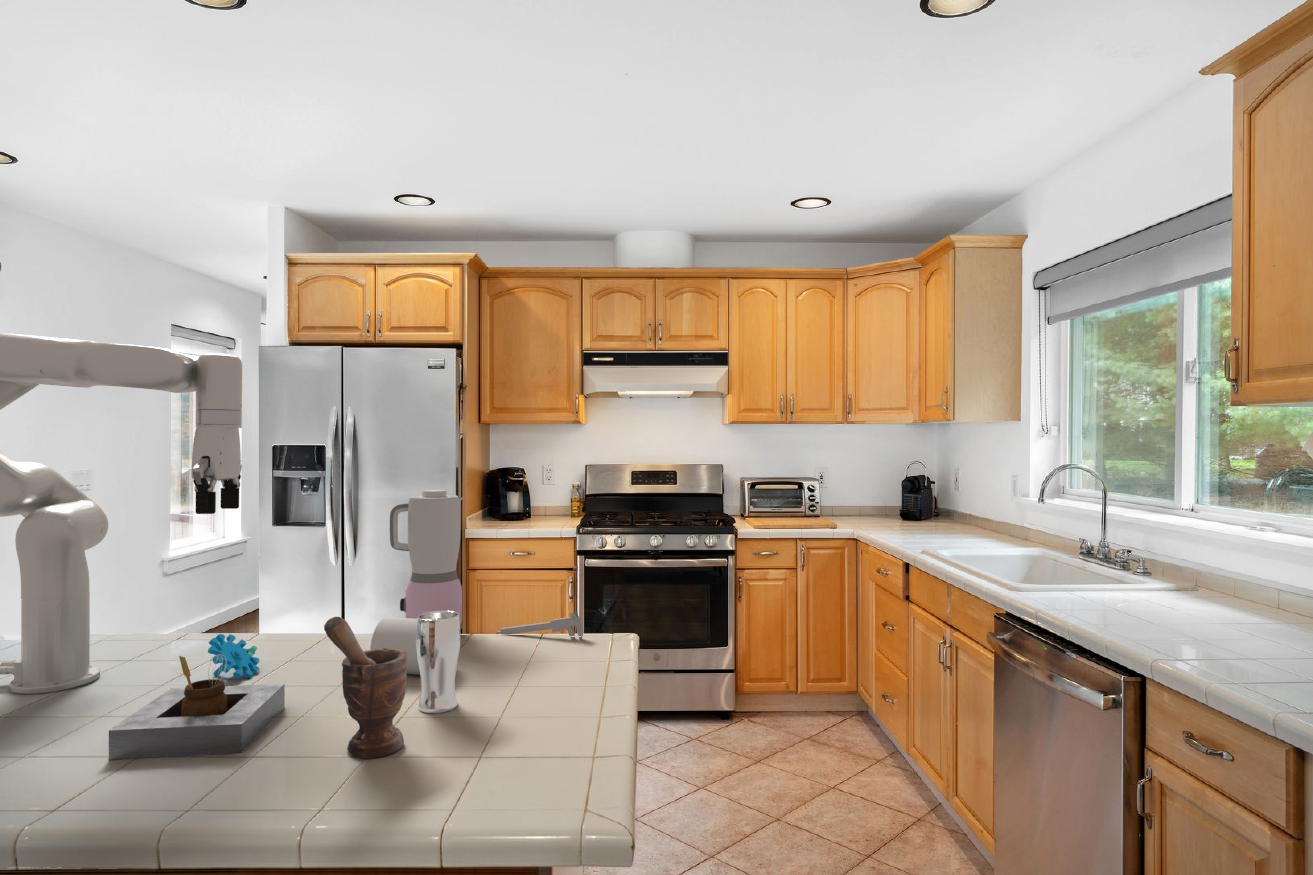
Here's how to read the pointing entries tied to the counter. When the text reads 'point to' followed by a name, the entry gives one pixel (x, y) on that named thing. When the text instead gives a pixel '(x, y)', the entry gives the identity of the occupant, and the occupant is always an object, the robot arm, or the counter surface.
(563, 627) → the caliper
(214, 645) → the gear
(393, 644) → the toilet paper
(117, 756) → the hollow square block
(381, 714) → the mortar and pestle
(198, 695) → the utensil holder
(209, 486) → the robot arm
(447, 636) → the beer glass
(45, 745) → the counter surface
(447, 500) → the blender
